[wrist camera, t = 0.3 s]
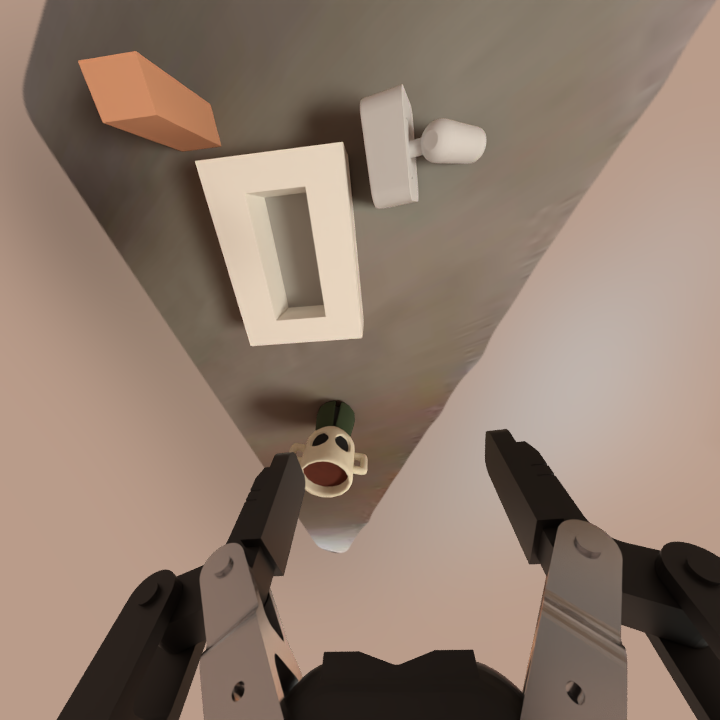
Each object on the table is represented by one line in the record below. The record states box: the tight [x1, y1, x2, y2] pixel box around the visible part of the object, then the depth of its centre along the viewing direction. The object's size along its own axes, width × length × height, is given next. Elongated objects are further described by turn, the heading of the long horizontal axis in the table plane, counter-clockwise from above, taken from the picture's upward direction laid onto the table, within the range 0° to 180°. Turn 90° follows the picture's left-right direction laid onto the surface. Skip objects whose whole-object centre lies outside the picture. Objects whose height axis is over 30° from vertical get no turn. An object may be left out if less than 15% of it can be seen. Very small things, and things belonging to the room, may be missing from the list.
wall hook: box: [360, 84, 486, 208], centre depth 26 cm, size 8×10×10 cm
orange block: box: [78, 51, 221, 152], centre depth 25 cm, size 4×4×10 cm
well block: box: [195, 142, 364, 346], centre depth 32 cm, size 19×14×6 cm
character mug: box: [289, 401, 367, 497], centre depth 40 cm, size 11×7×13 cm, turn 80°
